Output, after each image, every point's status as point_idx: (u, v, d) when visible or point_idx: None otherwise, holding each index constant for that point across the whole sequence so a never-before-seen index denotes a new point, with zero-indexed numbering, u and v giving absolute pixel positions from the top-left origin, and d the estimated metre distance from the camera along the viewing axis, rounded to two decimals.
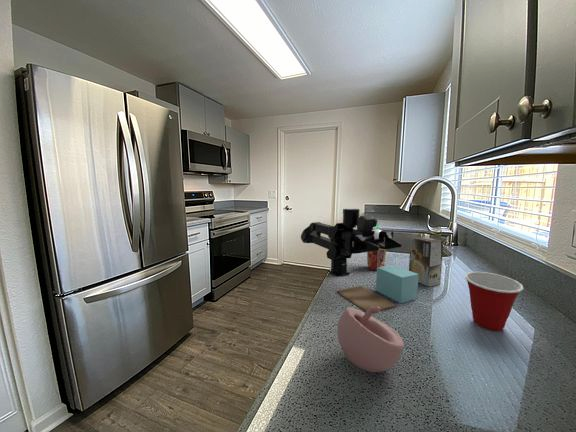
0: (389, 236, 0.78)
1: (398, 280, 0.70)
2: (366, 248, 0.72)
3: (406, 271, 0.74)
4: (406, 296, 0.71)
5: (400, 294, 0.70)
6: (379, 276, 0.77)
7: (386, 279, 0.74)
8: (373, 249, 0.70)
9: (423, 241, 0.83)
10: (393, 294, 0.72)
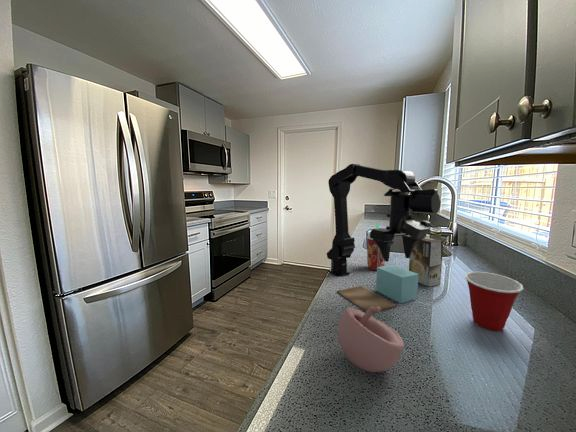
0: (415, 242, 0.75)
1: (398, 280, 0.70)
2: (382, 250, 0.72)
3: (406, 271, 0.74)
4: (406, 296, 0.71)
5: (400, 294, 0.70)
6: (379, 276, 0.77)
7: (386, 279, 0.74)
8: (383, 256, 0.73)
9: (423, 241, 0.83)
10: (393, 294, 0.72)
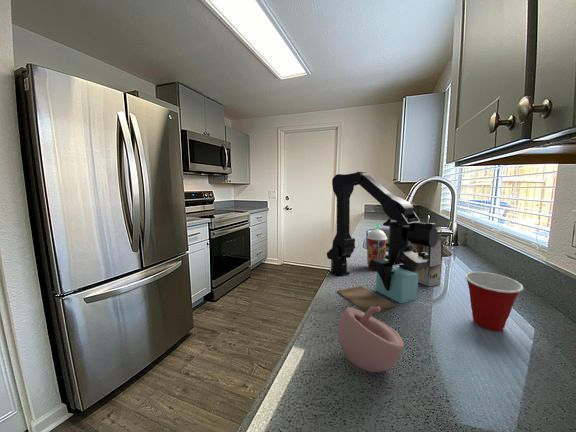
0: (411, 271, 0.75)
1: (398, 280, 0.70)
2: (383, 279, 0.74)
3: (406, 271, 0.74)
4: (407, 296, 0.71)
5: (400, 294, 0.70)
6: (379, 276, 0.77)
7: None
8: (384, 285, 0.74)
9: None
10: (393, 294, 0.72)
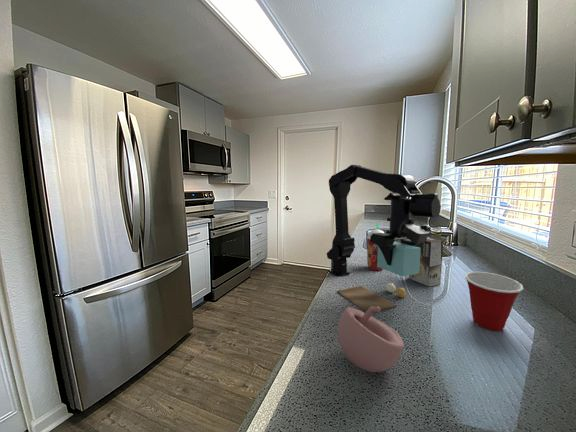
0: None
1: (399, 253, 0.69)
2: (385, 254, 0.73)
3: (408, 245, 0.73)
4: (408, 270, 0.70)
5: (402, 267, 0.69)
6: (380, 252, 0.76)
7: None
8: (386, 260, 0.73)
9: None
10: (395, 268, 0.71)
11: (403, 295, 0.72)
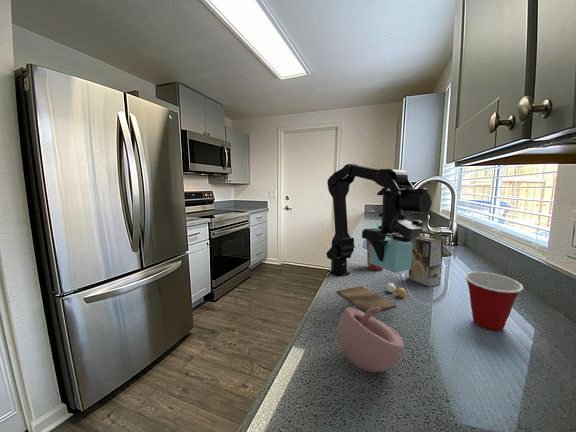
0: None
1: (391, 249, 0.68)
2: (376, 249, 0.72)
3: (400, 241, 0.72)
4: (400, 265, 0.69)
5: (394, 263, 0.68)
6: (372, 248, 0.75)
7: None
8: (378, 256, 0.72)
9: (423, 241, 0.83)
10: (386, 264, 0.70)
11: (403, 295, 0.72)
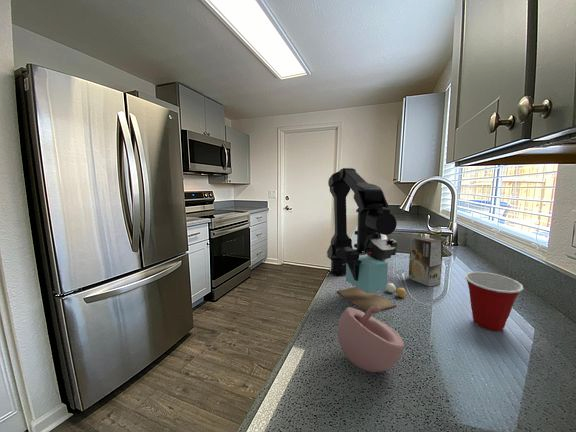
0: (382, 260, 0.72)
1: (365, 269, 0.67)
2: (351, 268, 0.70)
3: (376, 260, 0.70)
4: (374, 286, 0.67)
5: (367, 284, 0.66)
6: (348, 266, 0.73)
7: None
8: (353, 275, 0.71)
9: (423, 241, 0.83)
10: (361, 284, 0.69)
11: (403, 295, 0.72)
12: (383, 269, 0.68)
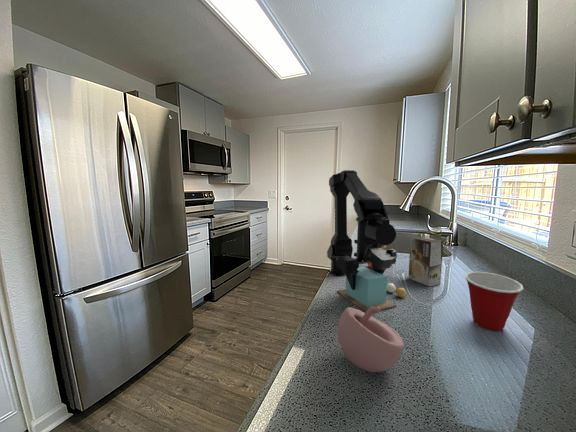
0: (384, 269, 0.72)
1: (364, 282, 0.67)
2: (348, 278, 0.70)
3: (375, 273, 0.71)
4: (374, 299, 0.67)
5: (367, 297, 0.66)
6: None
7: None
8: (350, 284, 0.70)
9: (423, 241, 0.83)
10: (360, 297, 0.69)
11: (403, 295, 0.72)
12: (382, 282, 0.68)
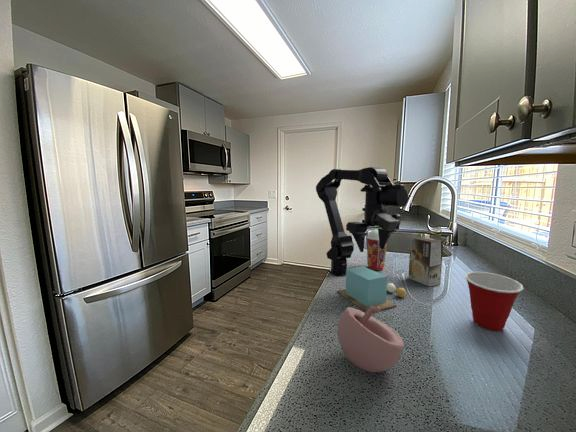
0: (389, 234, 0.80)
1: (364, 282, 0.67)
2: (357, 241, 0.78)
3: (375, 273, 0.71)
4: (374, 299, 0.67)
5: (367, 297, 0.66)
6: (348, 278, 0.74)
7: (354, 281, 0.71)
8: (359, 247, 0.79)
9: (423, 241, 0.83)
10: (360, 297, 0.69)
11: (403, 295, 0.72)
12: (382, 282, 0.68)
